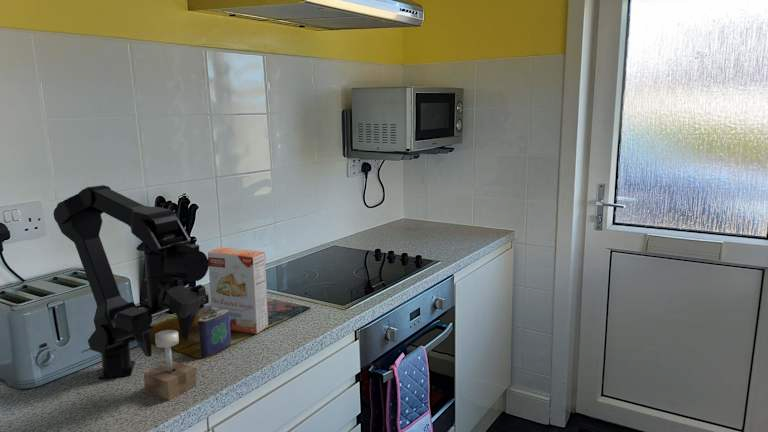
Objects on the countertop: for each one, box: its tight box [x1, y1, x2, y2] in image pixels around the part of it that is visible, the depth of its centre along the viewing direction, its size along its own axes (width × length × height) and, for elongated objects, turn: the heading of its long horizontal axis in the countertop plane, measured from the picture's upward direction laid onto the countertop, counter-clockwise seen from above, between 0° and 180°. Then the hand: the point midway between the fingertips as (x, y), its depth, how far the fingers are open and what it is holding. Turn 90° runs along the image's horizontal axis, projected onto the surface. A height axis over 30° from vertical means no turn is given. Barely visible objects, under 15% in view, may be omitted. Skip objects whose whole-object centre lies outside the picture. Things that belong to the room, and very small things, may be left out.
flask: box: [197, 307, 232, 359], centre depth 132 cm, size 9×3×11 cm, turn 152°
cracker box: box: [207, 247, 269, 335], centre depth 145 cm, size 14×6×21 cm, turn 68°
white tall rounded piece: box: [154, 329, 180, 373], centre depth 113 cm, size 4×4×8 cm
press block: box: [143, 360, 197, 401], centre depth 114 cm, size 7×7×4 cm
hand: (167, 347), depth 113 cm, fingers open, 9 cm apart
